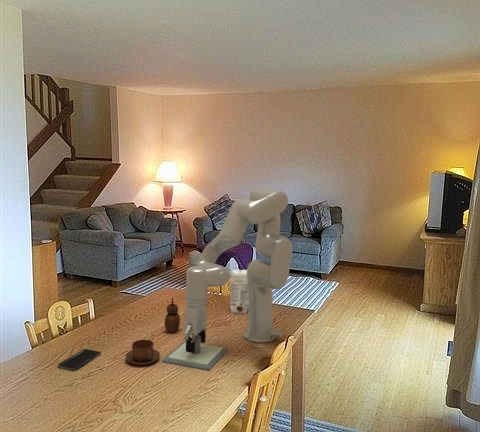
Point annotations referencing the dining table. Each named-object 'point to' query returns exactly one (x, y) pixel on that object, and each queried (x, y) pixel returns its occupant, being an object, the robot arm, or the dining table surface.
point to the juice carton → (239, 291)
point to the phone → (79, 360)
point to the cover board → (196, 358)
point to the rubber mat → (195, 364)
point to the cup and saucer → (142, 353)
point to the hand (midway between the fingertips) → (195, 347)
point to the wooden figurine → (172, 318)
